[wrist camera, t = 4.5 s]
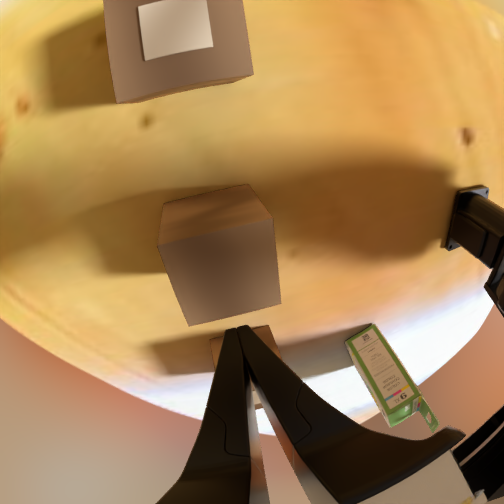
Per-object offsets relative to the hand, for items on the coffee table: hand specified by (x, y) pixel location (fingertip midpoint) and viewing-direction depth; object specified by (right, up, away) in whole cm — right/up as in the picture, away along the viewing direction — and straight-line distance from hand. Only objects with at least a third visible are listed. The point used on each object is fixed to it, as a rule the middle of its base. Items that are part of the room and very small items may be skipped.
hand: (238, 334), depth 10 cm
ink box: (+13, -8, +18) cm, 24 cm away
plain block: (-2, +4, +7) cm, 9 cm away
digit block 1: (-3, +13, +1) cm, 14 cm away
